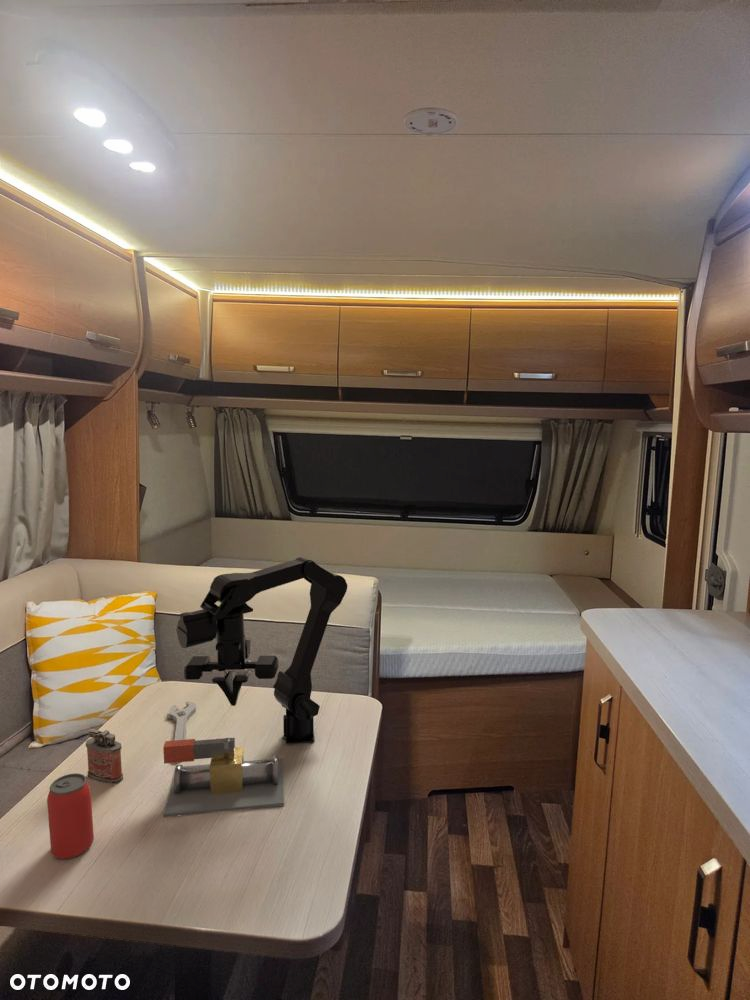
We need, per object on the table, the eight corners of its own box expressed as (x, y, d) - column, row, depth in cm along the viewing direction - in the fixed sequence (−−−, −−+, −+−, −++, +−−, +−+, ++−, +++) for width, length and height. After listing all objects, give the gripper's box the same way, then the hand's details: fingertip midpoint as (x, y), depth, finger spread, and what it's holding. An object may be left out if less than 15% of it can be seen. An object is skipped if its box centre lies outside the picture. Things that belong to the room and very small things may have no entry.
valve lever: (235, 751, 119) (234, 735, 118) (234, 757, 117) (233, 741, 116) (166, 757, 117) (165, 741, 116) (164, 763, 114) (163, 747, 114)
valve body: (278, 773, 123) (277, 743, 122) (278, 791, 117) (278, 760, 116) (178, 782, 120) (177, 752, 119) (173, 801, 114) (172, 769, 113)
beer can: (61, 834, 105) (56, 772, 103) (99, 832, 105) (95, 770, 103) (43, 862, 98) (38, 796, 96) (85, 860, 99) (80, 794, 97)
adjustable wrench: (185, 763, 127) (184, 756, 127) (153, 766, 126) (153, 759, 126) (197, 706, 151) (197, 700, 151) (171, 709, 150) (170, 702, 150)
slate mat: (282, 760, 128) (282, 758, 127) (283, 805, 113) (283, 802, 113) (176, 769, 124) (176, 767, 124) (163, 817, 109) (163, 814, 109)
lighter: (127, 776, 121) (124, 731, 120) (115, 786, 118) (112, 739, 117) (96, 768, 124) (93, 724, 123) (83, 777, 121) (80, 732, 119)
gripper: (281, 621, 131) (283, 686, 134) (197, 621, 131) (201, 687, 134) (272, 640, 120) (275, 711, 123) (181, 641, 120) (185, 712, 123)
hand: (234, 704), depth 126 cm, fingers closed
